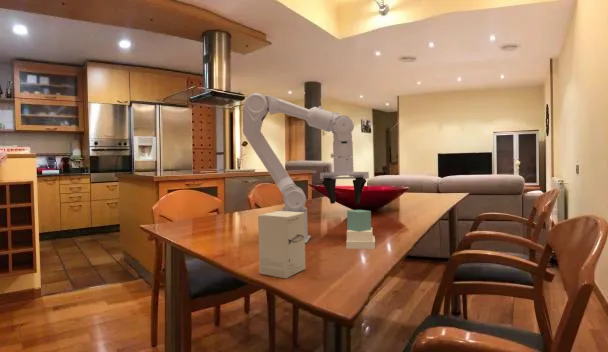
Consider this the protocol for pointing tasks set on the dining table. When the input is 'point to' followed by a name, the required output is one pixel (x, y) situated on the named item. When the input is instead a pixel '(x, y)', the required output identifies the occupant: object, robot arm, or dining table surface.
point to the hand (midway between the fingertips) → (344, 203)
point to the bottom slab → (361, 244)
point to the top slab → (360, 235)
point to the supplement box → (281, 243)
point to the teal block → (359, 220)
